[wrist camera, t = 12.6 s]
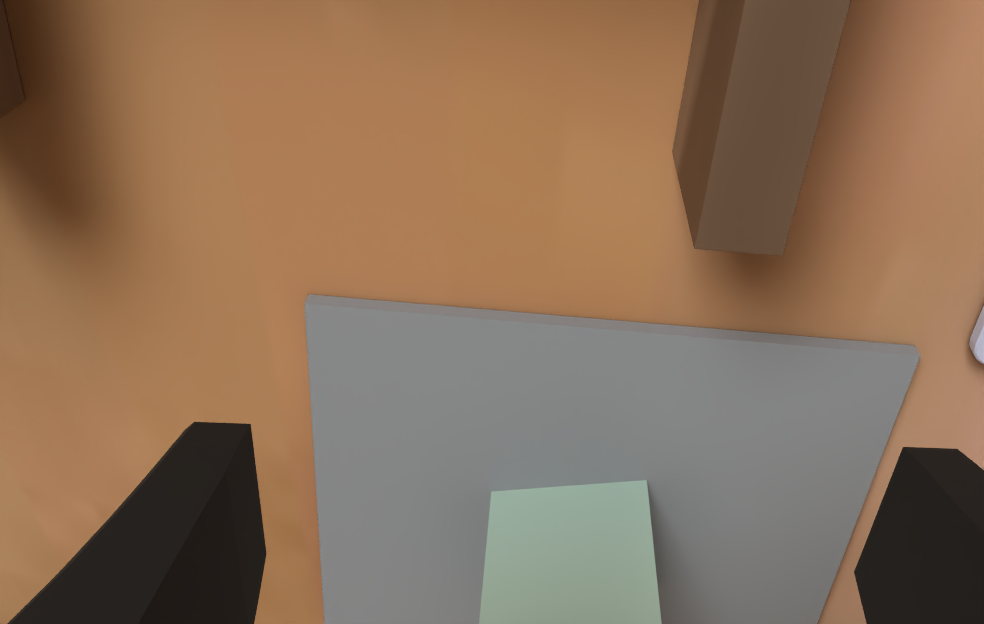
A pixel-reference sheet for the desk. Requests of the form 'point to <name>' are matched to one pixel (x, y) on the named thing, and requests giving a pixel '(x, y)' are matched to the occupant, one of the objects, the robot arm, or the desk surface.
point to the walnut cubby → (718, 114)
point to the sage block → (570, 556)
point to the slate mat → (588, 451)
